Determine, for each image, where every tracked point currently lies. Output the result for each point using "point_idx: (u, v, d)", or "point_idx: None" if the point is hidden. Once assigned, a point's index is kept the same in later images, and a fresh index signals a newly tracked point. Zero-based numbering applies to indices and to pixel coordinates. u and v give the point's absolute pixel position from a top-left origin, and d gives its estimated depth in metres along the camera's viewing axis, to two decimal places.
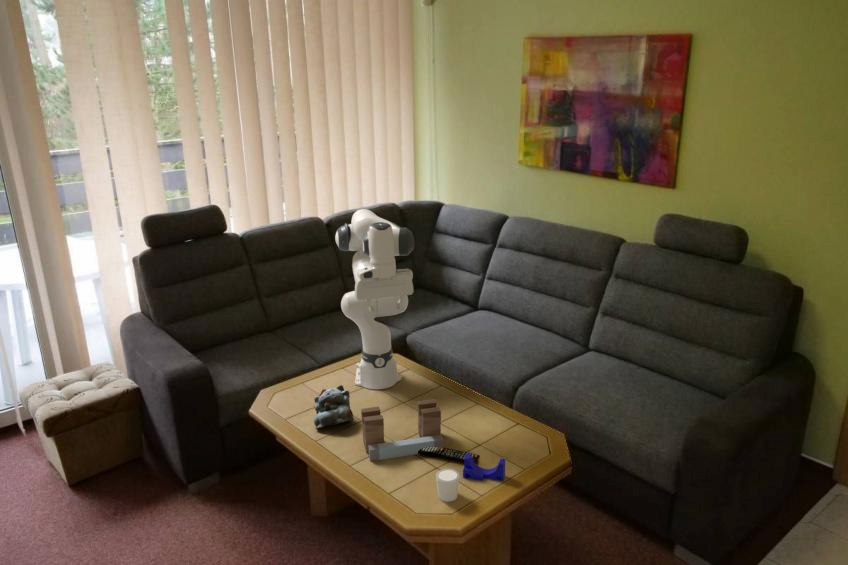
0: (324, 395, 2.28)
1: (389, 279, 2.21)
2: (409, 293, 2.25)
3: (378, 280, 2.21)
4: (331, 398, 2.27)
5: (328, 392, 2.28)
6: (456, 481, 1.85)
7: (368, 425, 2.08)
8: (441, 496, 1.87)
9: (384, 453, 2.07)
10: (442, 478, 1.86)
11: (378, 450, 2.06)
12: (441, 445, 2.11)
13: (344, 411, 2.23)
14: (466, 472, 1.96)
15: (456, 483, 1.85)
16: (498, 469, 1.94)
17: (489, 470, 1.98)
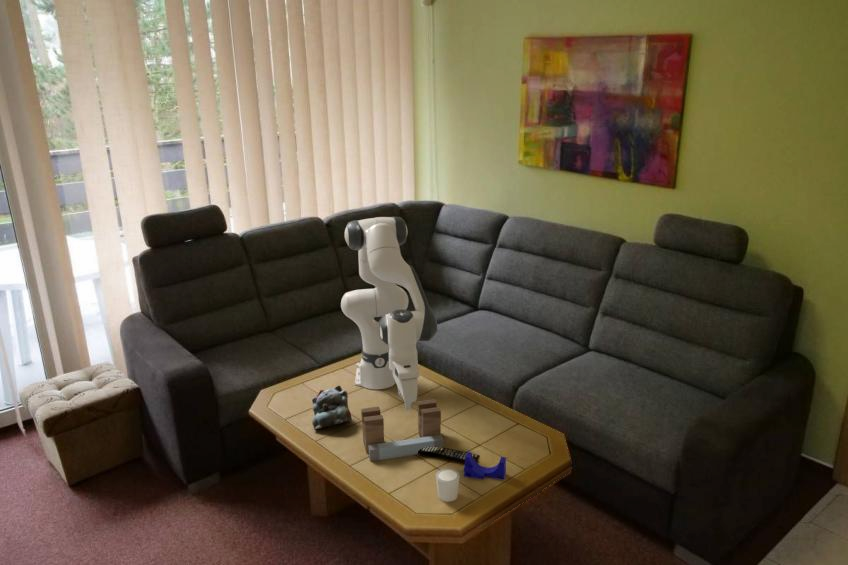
0: (322, 396, 2.28)
1: None
2: None
3: None
4: (329, 399, 2.26)
5: (326, 393, 2.28)
6: (456, 481, 1.85)
7: (368, 425, 2.08)
8: (441, 496, 1.87)
9: (384, 453, 2.07)
10: (442, 478, 1.86)
11: (378, 450, 2.06)
12: (441, 445, 2.11)
13: (343, 412, 2.23)
14: (467, 471, 1.97)
15: (456, 483, 1.85)
16: (499, 468, 1.95)
17: (490, 469, 1.98)
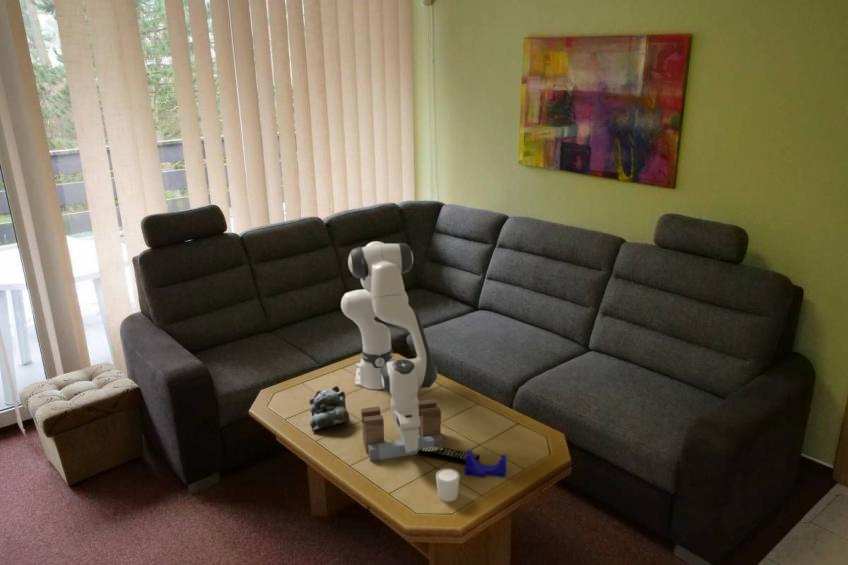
0: (320, 396, 2.27)
1: None
2: None
3: None
4: (327, 399, 2.26)
5: (324, 393, 2.28)
6: (456, 481, 1.85)
7: (368, 425, 2.08)
8: (441, 496, 1.87)
9: (384, 453, 2.07)
10: (442, 478, 1.86)
11: (378, 450, 2.06)
12: (441, 445, 2.11)
13: (341, 412, 2.23)
14: (468, 469, 1.97)
15: (456, 483, 1.85)
16: (500, 465, 1.96)
17: (490, 466, 1.99)
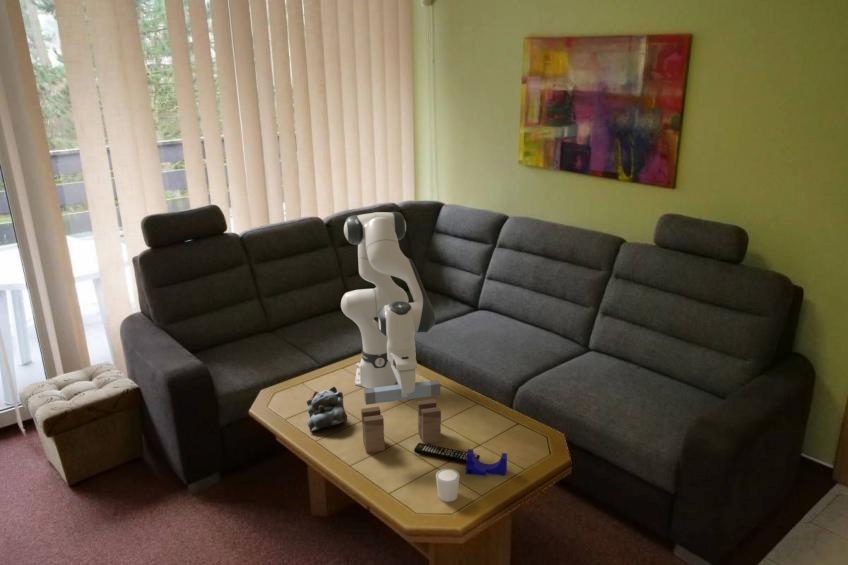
0: (317, 397, 2.27)
1: None
2: None
3: None
4: (325, 400, 2.26)
5: (321, 394, 2.27)
6: (456, 481, 1.85)
7: (368, 425, 2.08)
8: (441, 496, 1.87)
9: (380, 396, 2.04)
10: (442, 478, 1.86)
11: (374, 393, 2.03)
12: (438, 390, 2.08)
13: (339, 413, 2.23)
14: (469, 468, 1.98)
15: (456, 483, 1.85)
16: (500, 464, 1.97)
17: (491, 465, 2.00)
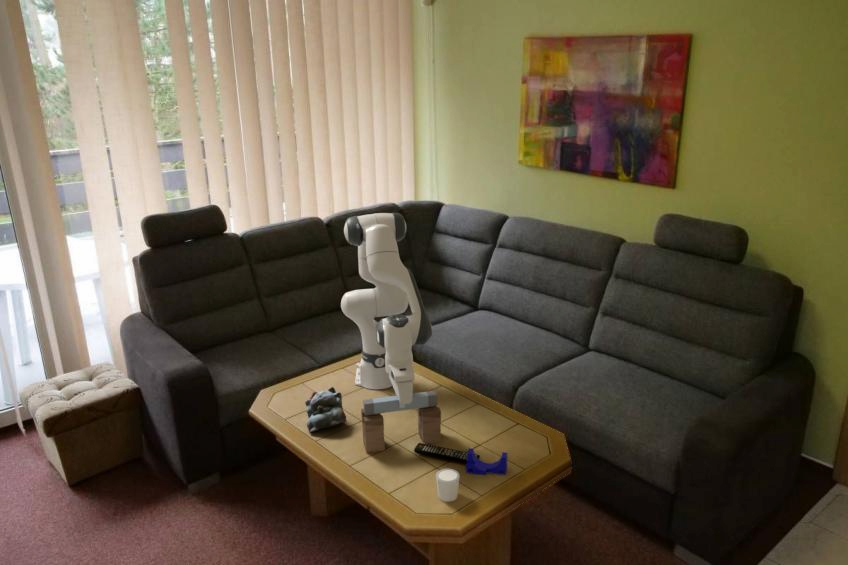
0: (316, 398, 2.27)
1: None
2: None
3: None
4: (324, 400, 2.25)
5: (320, 395, 2.27)
6: (456, 481, 1.85)
7: (368, 425, 2.08)
8: (441, 496, 1.87)
9: (379, 407, 2.09)
10: (442, 478, 1.86)
11: (373, 404, 2.09)
12: (435, 400, 2.14)
13: (338, 413, 2.22)
14: (469, 467, 1.99)
15: (456, 483, 1.85)
16: (501, 463, 1.97)
17: (491, 464, 2.01)
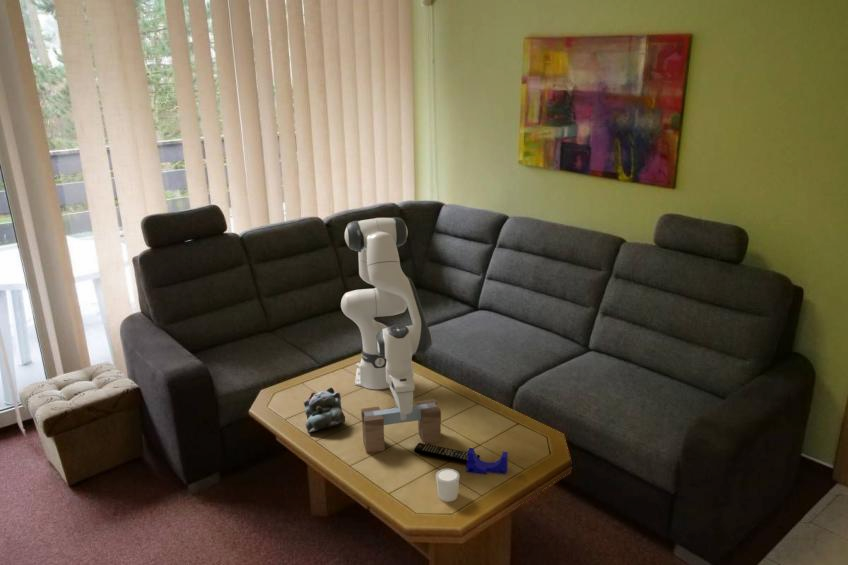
0: (315, 398, 2.26)
1: None
2: None
3: None
4: (322, 401, 2.25)
5: (319, 395, 2.26)
6: (456, 481, 1.85)
7: (368, 425, 2.08)
8: (441, 496, 1.87)
9: None
10: (442, 478, 1.86)
11: None
12: None
13: (337, 414, 2.22)
14: (470, 466, 1.99)
15: (456, 483, 1.85)
16: (501, 462, 1.98)
17: (492, 463, 2.01)
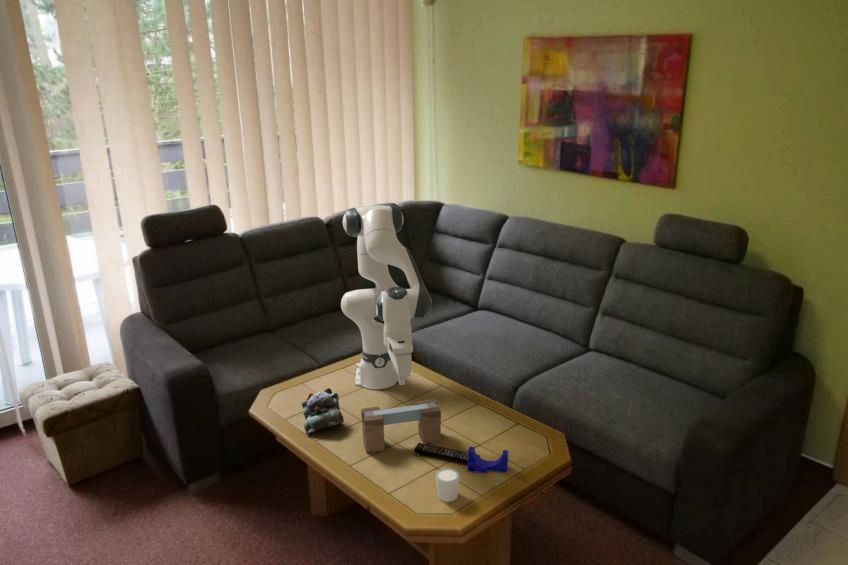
0: (313, 399, 2.26)
1: None
2: None
3: None
4: (321, 402, 2.25)
5: (317, 396, 2.26)
6: (456, 481, 1.85)
7: (368, 425, 2.08)
8: (441, 496, 1.87)
9: None
10: (442, 478, 1.86)
11: None
12: None
13: (336, 414, 2.22)
14: (470, 465, 2.00)
15: (456, 483, 1.85)
16: (502, 460, 1.98)
17: (492, 462, 2.02)
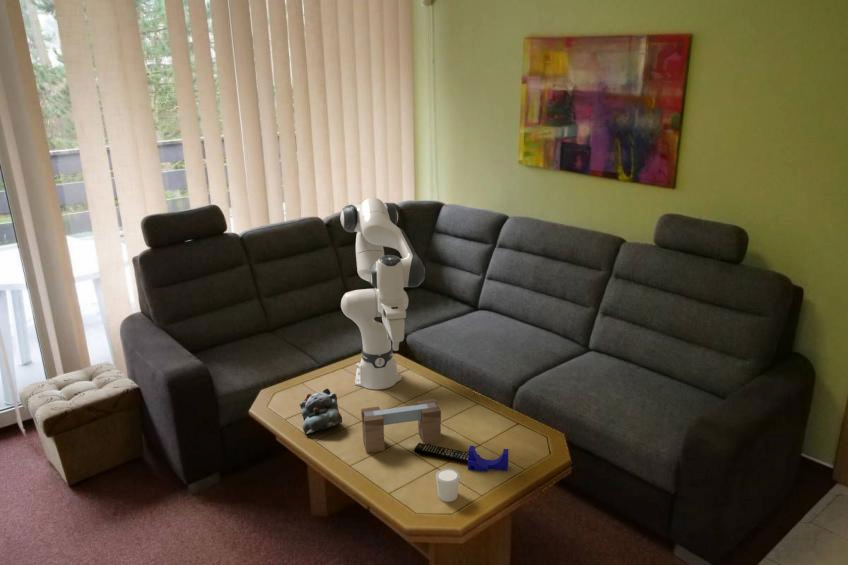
0: (311, 400, 2.25)
1: None
2: None
3: None
4: (319, 402, 2.24)
5: (315, 396, 2.26)
6: (456, 481, 1.85)
7: (368, 425, 2.08)
8: (441, 496, 1.87)
9: None
10: (442, 478, 1.86)
11: None
12: None
13: (334, 414, 2.22)
14: (471, 464, 2.00)
15: (456, 483, 1.85)
16: (502, 459, 1.99)
17: (493, 461, 2.02)
